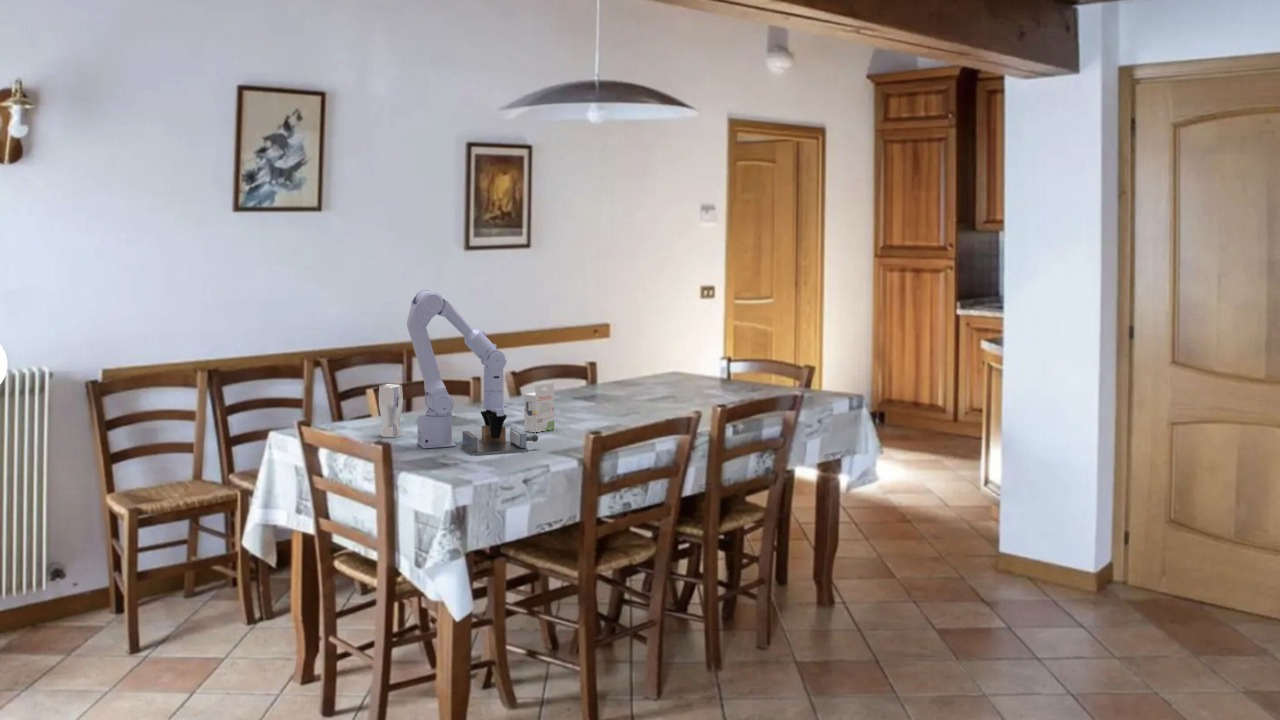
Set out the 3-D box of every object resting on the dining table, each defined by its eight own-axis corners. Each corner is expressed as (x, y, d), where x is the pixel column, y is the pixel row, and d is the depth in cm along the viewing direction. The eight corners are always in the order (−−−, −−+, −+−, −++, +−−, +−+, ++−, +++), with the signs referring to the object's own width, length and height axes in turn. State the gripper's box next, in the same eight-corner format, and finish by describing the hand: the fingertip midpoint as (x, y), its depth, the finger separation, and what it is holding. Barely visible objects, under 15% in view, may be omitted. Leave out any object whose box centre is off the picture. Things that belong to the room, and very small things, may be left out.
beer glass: (374, 435, 337) (373, 385, 335) (394, 432, 342) (393, 383, 340) (388, 439, 332) (387, 388, 330) (407, 435, 337) (407, 385, 335)
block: (485, 443, 328) (485, 428, 327) (481, 440, 331) (481, 425, 331) (505, 442, 330) (505, 426, 330) (501, 439, 334) (501, 424, 333)
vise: (472, 455, 311) (472, 438, 310) (460, 447, 322) (460, 430, 321) (528, 451, 317) (528, 434, 317) (515, 443, 328) (515, 427, 328)
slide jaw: (519, 448, 317) (519, 433, 317) (508, 441, 326) (508, 427, 326) (539, 446, 320) (539, 432, 319) (528, 440, 329) (528, 426, 328)
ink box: (543, 427, 354) (543, 380, 352) (554, 429, 351) (555, 382, 349) (523, 431, 347) (523, 383, 345) (535, 433, 344) (535, 385, 342)
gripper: (514, 393, 324) (514, 440, 326) (499, 386, 337) (499, 431, 339) (490, 394, 321) (490, 442, 323) (476, 387, 334) (476, 432, 336)
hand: (493, 436), depth 331 cm, fingers closed on block, 4 cm apart
